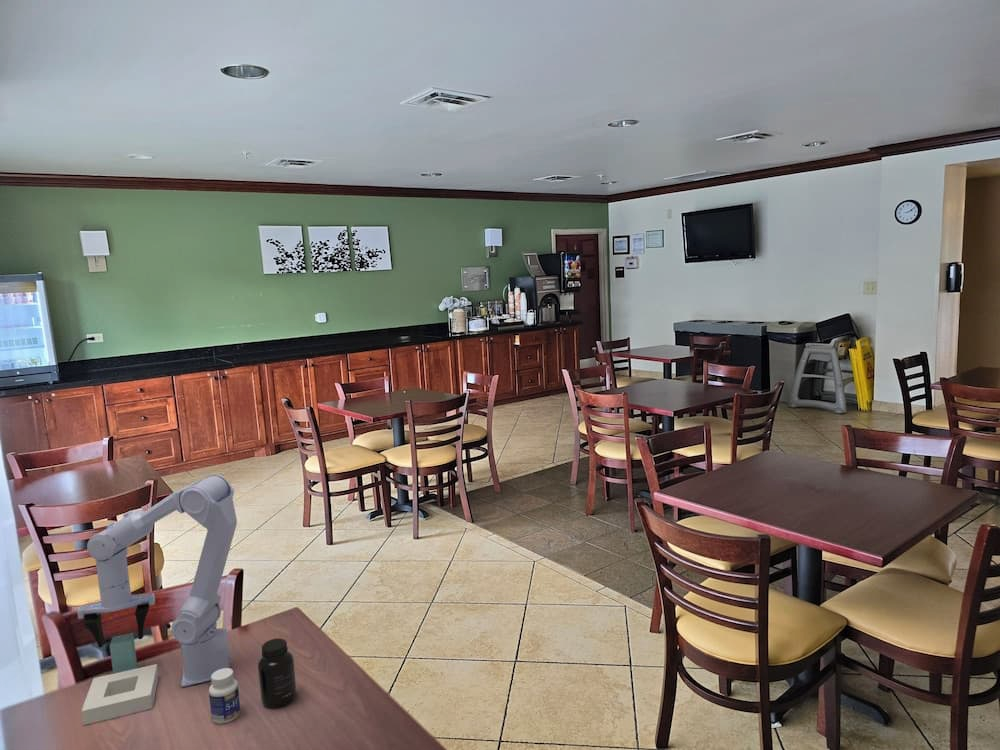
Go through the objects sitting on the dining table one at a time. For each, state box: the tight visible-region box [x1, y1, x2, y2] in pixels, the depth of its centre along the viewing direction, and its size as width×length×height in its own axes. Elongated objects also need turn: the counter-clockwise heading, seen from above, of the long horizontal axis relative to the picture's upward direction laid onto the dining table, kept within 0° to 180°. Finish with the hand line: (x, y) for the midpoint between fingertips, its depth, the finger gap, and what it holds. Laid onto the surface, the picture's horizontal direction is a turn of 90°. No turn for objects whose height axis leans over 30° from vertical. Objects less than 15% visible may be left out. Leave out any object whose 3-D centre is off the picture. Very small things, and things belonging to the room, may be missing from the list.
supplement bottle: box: [257, 637, 297, 710], centre depth 133 cm, size 7×7×12 cm
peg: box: [109, 632, 138, 674], centre depth 145 cm, size 4×4×8 cm
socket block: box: [80, 663, 160, 726], centre depth 136 cm, size 12×12×3 cm
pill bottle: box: [208, 667, 241, 725], centre depth 129 cm, size 5×5×9 cm
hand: (121, 641), depth 145 cm, fingers open, 7 cm apart
